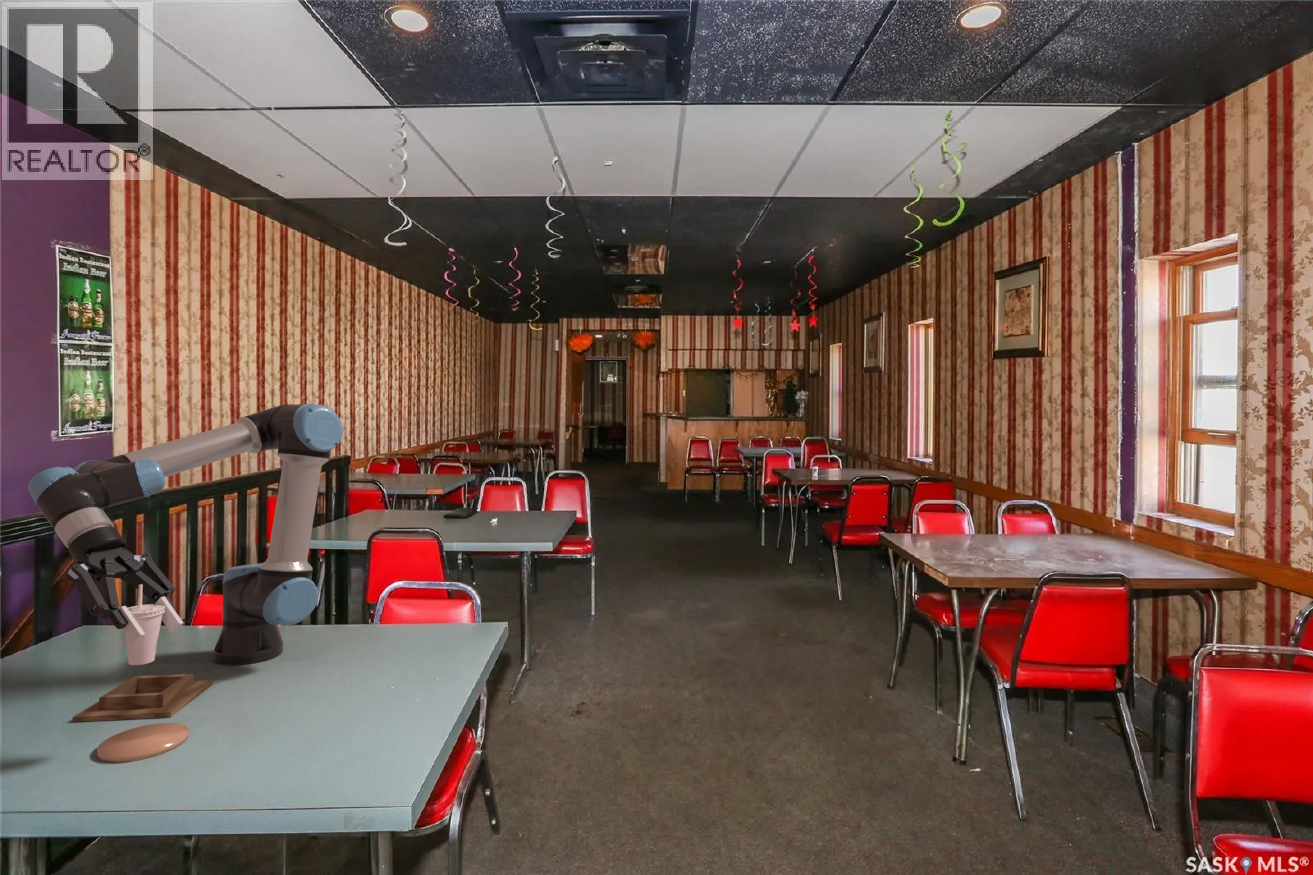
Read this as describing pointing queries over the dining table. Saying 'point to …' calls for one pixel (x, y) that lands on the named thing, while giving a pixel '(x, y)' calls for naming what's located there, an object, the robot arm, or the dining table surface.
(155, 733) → the coaster
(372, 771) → the dining table surface
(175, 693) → the cup holder
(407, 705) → the dining table surface
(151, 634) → the smoothie
